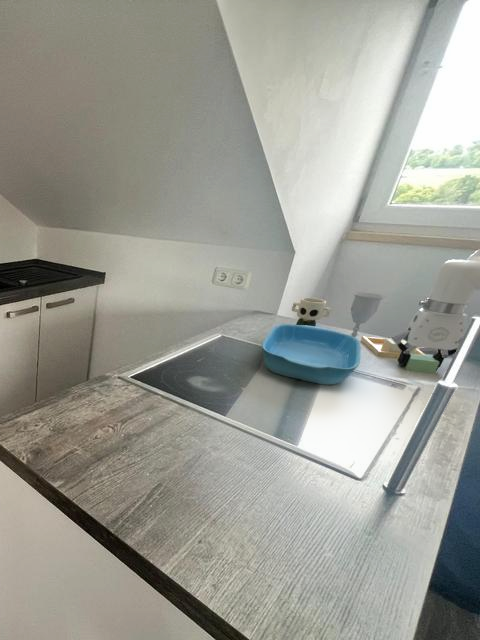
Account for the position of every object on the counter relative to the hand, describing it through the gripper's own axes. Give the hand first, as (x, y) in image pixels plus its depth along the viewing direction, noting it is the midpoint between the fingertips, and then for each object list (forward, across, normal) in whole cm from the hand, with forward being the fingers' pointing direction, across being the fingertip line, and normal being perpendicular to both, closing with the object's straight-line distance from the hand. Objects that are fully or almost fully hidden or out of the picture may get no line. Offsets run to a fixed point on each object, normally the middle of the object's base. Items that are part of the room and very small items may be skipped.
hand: (417, 366), depth 112 cm
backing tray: (+1, -1, +14) cm, 14 cm away
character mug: (+1, -23, +22) cm, 32 cm away
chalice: (+1, -12, +13) cm, 18 cm away
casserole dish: (+1, -28, -7) cm, 29 cm away
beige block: (0, -1, +11) cm, 11 cm away
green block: (+1, 0, 0) cm, 1 cm away
